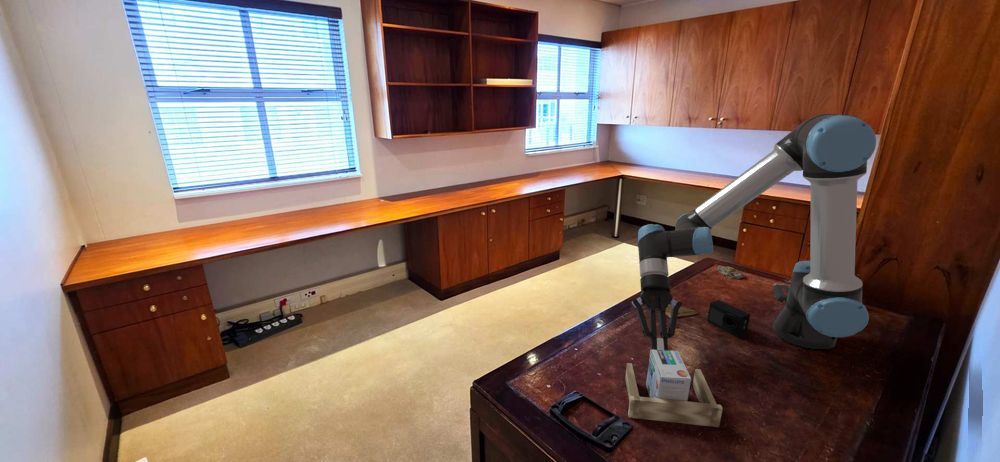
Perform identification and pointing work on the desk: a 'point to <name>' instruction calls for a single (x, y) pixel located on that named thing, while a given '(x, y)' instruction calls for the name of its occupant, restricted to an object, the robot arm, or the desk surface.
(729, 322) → the digital camera
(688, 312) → the shard
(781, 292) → the usb drive
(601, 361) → the desk surface
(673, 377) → the light bulb box
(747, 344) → the desk surface
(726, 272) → the mineral rock
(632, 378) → the rack bay
